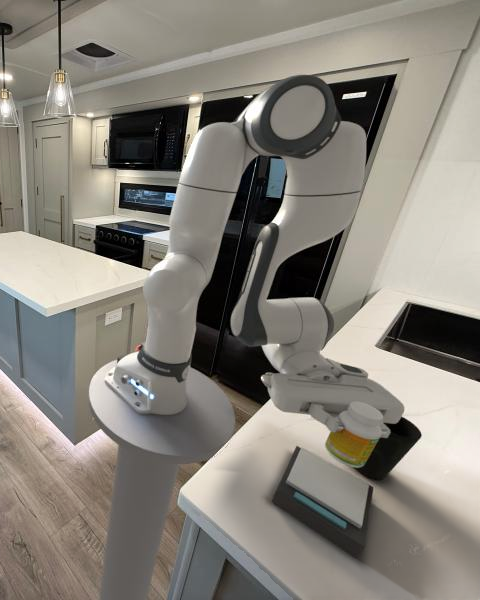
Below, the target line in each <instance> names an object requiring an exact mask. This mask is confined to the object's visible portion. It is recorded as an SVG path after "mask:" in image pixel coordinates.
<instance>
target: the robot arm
mask: <svg viewBox="0 0 480 600" xmlns="http://www.w3.org/2000/svg"><path fill="white" fill-rule="evenodd" d="M258 156H265V157H280V158H281V159H282V160H283V162H284V164H285V167H286V176H287V177H286V182H285V188H284V195H283V199H282V203H281V206H280V208H279V210H278V212H277V213H276V215H275V217H274V218H273V220H272V221H271V222H270V223H269V224H267V225H264V226H263V227H262V229H261V230H260V232H259V233H258V237H257V239H256V241H255V244H254V247H253V250H252V253H251V256H250V260H249V263H248V266H247V269H246V273H245V275H244V279H243V283H242V286H241V289H240V292H239V296H238V298H237V301H236V303H235V304H234V306H233V309H232V311H231V316H230V328H231V333H232V335H233V336H234V337H235V338H236V339H237V340H238V341H239V342H241V343H242V344H243V345H246V346H247V347H249V348H253V347H260V346H261V348H262V351H263V354H264V356H265V358H267V360H268V361H269V363H270V365H271V366H272V367H273V368H274V369H275V370H277V371H278V372H277V373H274V372H265V373H264V374H261V376H260V380H261V382H262V383H263V385H264V386H265V387H266V388H267V392H268V395H269V397H270V400H271V402H272V403H273V405H274V407H275V408H276V409H278V410H280V411H281V412H282V413H289V414H299V415H308V416H310V417H311V418H312V419H313V420H316V421H317V422H319V423H320V424H322V425H324V426H325V427H326V428H327V429H328V430H329V432H336V433H342V432H343V429H344V428H345V426H344V424H343V423H342V422H341V420H340V419H339V418H337V417H338V415H339V414H340V413H341V412H343V411H347V410H348V407H349V406H350V404H351V403H352V402H362V403H366V404H368V405H371V406H372V407H374V408H376V409H377V410H379V411H380V412H381V413H382V415H383V419H382V421H381V423H380V425H379V426H380V428H381V430H382V434H381V437H382V438H388V436H389V434H390V433H391V432H390V429H389V428H388V427H387V426H386V425H385V424H384V423H392V424H396V423H398V421H399V420H400V418H401V417H403V415H404V413H405V405H404V403H403V402H401V400H400V399H398V398H397V397H396V396H395V395H394V394H393V393H391V392H390V391H389V390H388V389H387V388H385V387H384V386H383V385H381V384H380V383H378V382H377V381H375V380H373V379H371V378H369V373H368V372H367V371H366V370H364V369H363V368H360V367H357V366H353V365H349V364H345V363H341V362H339V361H335V360H333V359H331V358H328V357H325V356H324V355H323V354H321V351H322V350H324V349H325V347H326V346H327V344H328V343H329V341H330V339H331V337H332V335H333V333H334V328H335V320H334V317H333V314H332V312H331V311H330V310H329V308H328V307H327V305H325V304H324V303H323V302H322V301H321V300H320V299H318V298H317V297H316V298H315V297H314V296H313V297H312V296H311V297H309V296H308V297H307V296H306V297H288V298H273V299H267V298H268V296H269V294H270V290H271V287H272V285H273V281H274V278H275V275H276V272H277V270H278V268H279V267H280V265H281V264H282V263H283V262H285V261H286V260H287V259H288V258H290V257H292V256H293V255H295V254H297V253H300V252H301V251H304V250H305V249H308V248H311V247H314V246H316V245H318V244H321V243H324V242H327V241H328V240H330V239H332V238H334V237H335V236H337V235H338V234H339V233H341V232H342V231H344V230H345V229H346V228H347V227H348V226H349V225H350V223H352V221H353V219H354V216H356V215H355V214H356V212H357V209H358V206H359V202H360V198H361V194H362V193H361V192H362V188H363V183H364V177H365V171H366V162H367V134H366V131H365V129H364V128H363V127H362V126H361V125H359V124H358V123H354V122H351V121H346V120H345V121H344V120H342V116H341V114H340V112H339V110H338V108H337V105H336V101H335V97H334V95H333V91H332V89H331V87H330V85H329V84H328V83H327V82H326V81H325V80H323V79H322V78H320V77H319V76H316V75H311V74H295V75H292V76H288V77H285V78H283V79H281V80H279V81H277V82H275V83H274V84H272V85H270V86H268V87H267V88H265V89H264V90H262V91H260V93H258V95H256V96H255V97H254V98H253V100H252V101H251V102H249V103H248V105H247V106H246V107H244V109H243V110H242V111H241V113H240V114H239V115H238V116H237V117H236V118H235V119H234V121H233V122H227V121H226V122H225V121H223V122H222V121H221V122H214V123H210V124H208V125H206V126H204V127H202V128H201V129H200V130H199V131H198V132H197V133H196V135H195V137H194V139H193V140H192V143H191V145H190V148H189V150H188V153H187V155H186V157H185V161H184V163H183V166H182V169H181V173H180V175H179V179H178V184H177V187H176V193H175V196H174V200H173V203H172V207H171V212H170V215H169V219H168V226H169V235H168V236H169V237H168V246H167V252H166V255H165V257H164V258H163V259H162V260H161V261H160V262H158V263H156V264H155V265H154V266H153V267H152V268H151V269H150V270H149V272H148V273H147V276H146V277H145V280H144V282H143V286H142V294H143V298H144V300H145V302H146V303H147V328H146V329H147V330H146V336H145V341H142V342H140V343H139V345H138V346H137V345H136V347H135V348H134V349H135V350H134V352H129V353H126V354H123V355H120V356H118V357H117V358H116V360H117V365H116V367H114V368H113V369H112V370H110V371H109V372H108V373H107V375H106V377H105V383H106V384H107V385H108V386H109V387H110V388H111V389H112V390H114V391H115V392H116V393H117V394H118V395H119V396H120V397H121V398H122V399H123V400H124V401H125V402H127V403H128V404H129V405H130V406H131V407H132V408H133V409H134V410H135V411H136V412H137V413H139V414H150V413H152V414H159V415H174V414H177V413H180V412H181V411H183V410H184V409H185V407H186V405H187V399H186V378H187V376H188V374H189V370H190V367H191V363H192V358H193V356H192V350H193V345H194V341H195V335H196V333H197V332H196V331H197V323H196V322H197V310H198V305H199V300H200V297H201V296H202V293H203V291H204V290H205V289H206V287H207V286H208V285H209V283H210V281H211V279H212V276H213V273H214V269H215V265H216V262H217V259H218V255H219V251H220V248H221V243H222V239H223V235H224V232H225V230H226V229H225V228H226V225H227V223H228V220H229V217H230V214H231V211H232V208H233V205H234V202H235V199H236V196H237V193H238V190H239V187H240V184H241V181H242V180H241V179H242V176H243V174H244V173H245V171H246V169H247V168H248V167H249V165H250V163H251V162H252V161H253V160H254V159H255V158H257V157H258Z"/></svg>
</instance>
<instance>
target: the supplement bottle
mask: <svg viewBox="0 0 480 600" xmlns="http://www.w3.org/2000/svg"><path fill="white" fill-rule="evenodd" d="M337 418H339V419H340V420H341V422H342V423H343V424H344V426H345V428H344V429H343V432H342V433H336V432H331V431H329V433H328V436H327V438H326V440H325V442H324V447H325V450H326V452H327V454H329V456H331V457H332V458H333V459H334V460H336V461H337V462H339V463H340V464H343V465H345V466H348V467H351V468H354V467H355V468H359V467H362V466H364V464H365V463H366V461H367V459H368V458H369V456H370V454H371V452H372V451H373V449H374V447H375V445H376V444H377V442H378V440H379V438H380V437H381V434H382V430H381V428H380V426H379V425H380V423H381V421H382V419H383V415H382V413H381V412H380V411H379V410H377V409H376V408H374V407H372V406H371V405H368V404H366V403H362V402H352V403H351V404H350V406H349V407H348V410H347V411H343V412H341V413H340V414H339V415H338V417H337ZM355 468H354V469H355Z"/></svg>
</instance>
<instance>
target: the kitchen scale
mask: <svg viewBox="0 0 480 600" xmlns="http://www.w3.org/2000/svg"><path fill="white" fill-rule="evenodd" d="M373 495H374V486H372V485H371V484H370V483H369V482H367V481H365V480H363V479H361V478H359V477H357V476H356V475H354V474H352V473H350V472H348V471H346V470H344V469H343V468H340V467H339V466H337V465H335V464H333V463H332V462H330V461H328V460H326V459H324V458H322V457H321V456H318V455H316V454H315V453H313V452H310V451H309V450H307V449H306V448H303V447H300V446H298V445H296V446H295V448H294V451H293V452H292V455H291V457H290V459H289V461H288V463H287V466H286V468H285V470H284V472H283V474H282V476H281V478H280V481H279V483H278V485H277V487H276V489H275V491H274V494H273V496H272V498H271V501H270V502H271V503H273V504H275V506H278V507H279V508H280V509H282V510H284V511H285V512H287V513H288V514H290V515H291V516H292V517H294V518H296V519H297V520H299V521H300V522H302V524H304V525H306V526H307V527H309V528H310V529H312V530H313V531H314V532H317V533H318V534H319V535H321V536H322V537H324V538H325V539H327V540H328V541H329V542H331V543H333V544H334V545H335V546H337V547H339V548H340V549H342V550H343V551H345V553H348V554H349V555H351V556H352V557H353V558H355V559H358V557H359V556H360V555H361V553H362V552H363V550H364V549H365V548H366V540H367V534H368V529H369V528H368V527H369V520H370V514H371V507H372V501H373Z"/></svg>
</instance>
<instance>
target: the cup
mask: <svg viewBox="0 0 480 600" xmlns="http://www.w3.org/2000/svg"><path fill="white" fill-rule="evenodd" d="M384 424H385V425H386V426H387V427H388V428H389V429H390V432H391V433H390V434H389V436H388V438H382V437H380V438H379V440H378V442H377V444H376V445H375V447H374V449H373V451H372V452H371V454H370V456H369V458H368V459H367V461H366V463H365V464H364V466H362V467H359V468H355V467H353V469H354V470H355V471H357V472H358V473H359V474H361V475H363V476H364V477H366V478H369V479H370V480H371V479H372V480H375V481H383V480H384V479H385V478H386V477H388V475H389V474H390V473H391V472H392V470H393V469H395V467H396V466H397V465H398V464H399V463H400V462H401V461H402V459H403V458H404V457H405V456H406V455H407V454H408V453H409V452H410V451H411V449H412V448H414V447H415V445H416V444H417V443H418V442H419V441H420V440H421V438H422V436H423V435H422V432H421V430H420V429H419V427H417V425H415V424H414V423H413V422H412V421H410V420H409V419H407V418H405V417H404V416H402V417H401V418H400V420H399V421H398V423H396V424H392V423H384Z"/></svg>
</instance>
